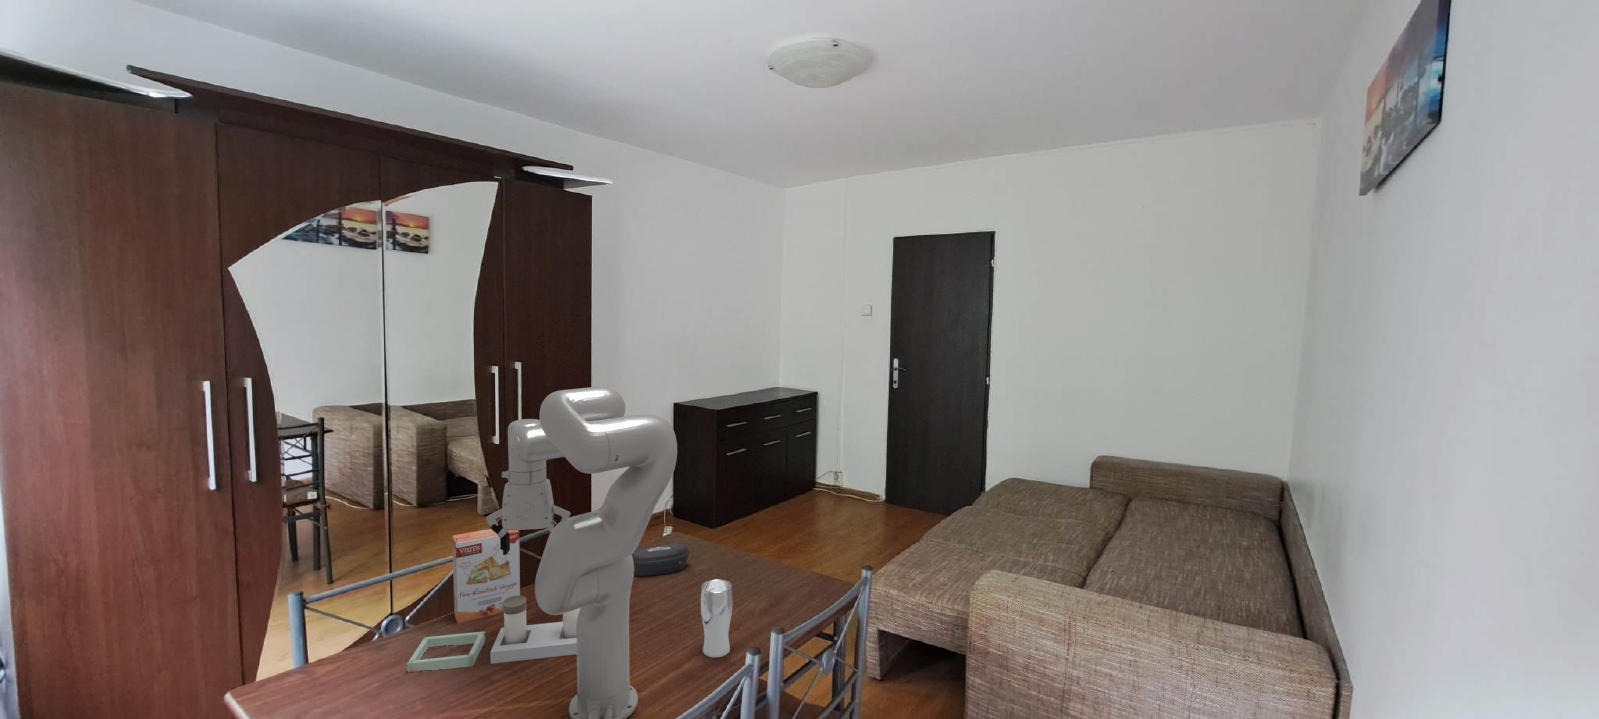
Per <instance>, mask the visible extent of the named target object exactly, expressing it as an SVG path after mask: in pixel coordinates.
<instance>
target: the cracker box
mask: <svg viewBox="0 0 1599 719" xmlns="http://www.w3.org/2000/svg"><path fill="white" fill-rule="evenodd" d="M508 532H509V534H510V550H509V552H508V553H507V554H506V555H503V550H501V549H500V537H498V534H496V533H495V532H494V531H493V530H492V529H491V528H488V529H481V530H475V531H470V532H465V533H459V534H453V535H452V563H453V564H452V567H453V568H452V569H453V571H452V572H453V574H452V575H453V604H454V605H453V606H454V607H453V608H454V617H455V621H456V624H459V625H460V624H462V623H463V624H464V623H467V622H472V621H475V620H479V619H482V618H487V617H491V616H494V615H498V614H503V613H504V612H503V602H504V600H505V599H507V598H509V597H512V596H521V583H520V582H521V581H520V580H521V579H520V577H521V576H520V575H521V574H520V572H521V571H520V563H521V562H520V560H521V559H520V530H508Z"/></svg>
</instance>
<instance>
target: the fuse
mask: <svg viewBox="0 0 1599 719" xmlns="http://www.w3.org/2000/svg"><path fill="white" fill-rule="evenodd" d="M580 609H581V608H578V609H575V610H573V611H570V612H567V613H564V614H562V622H563V639H568V638H576V624H577V618H578V614H579V611H580Z"/></svg>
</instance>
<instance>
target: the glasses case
mask: <svg viewBox="0 0 1599 719" xmlns="http://www.w3.org/2000/svg"><path fill="white" fill-rule="evenodd" d="M631 555H632V558H633V562H634V577H635V576H637V577H652V576H653V577H655V576H661V575H667V574H671V573H675V572H679V571H682V570H683V569H685V567H686V565H687V561H688V559H689V555H690V550H689V547H688V546H687V545H685V544H683V543H674V544H666V545H658V546H651V547H648V548H640V549H636V550H635V551H634V552H633V553H632V554H631Z"/></svg>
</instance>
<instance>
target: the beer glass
mask: <svg viewBox="0 0 1599 719" xmlns="http://www.w3.org/2000/svg"><path fill="white" fill-rule="evenodd" d="M732 587H733V586H732V583H731V582H730V581H728V580H725V579H719V578H717V579H715V578H714V579H710V580H706V581H705V582H703V584H701V594H700V614H701V620H702V626H703V632H704V638H703V639H704V641H703V646H702V653H703V655H704V656H706V657H709V658H712V659H713V658H715V659H716V658H722V657H725V656H727V654H729V653H730V651H731V645H730V641H729V631H730V625H731V620H732V614H733V613H732V612H733V590H732Z"/></svg>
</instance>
